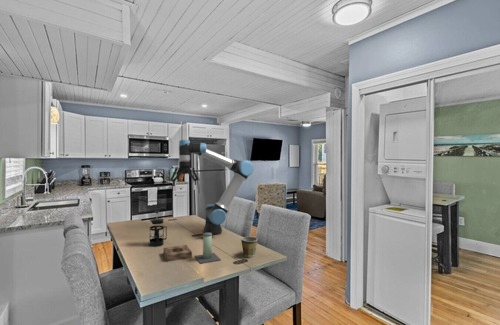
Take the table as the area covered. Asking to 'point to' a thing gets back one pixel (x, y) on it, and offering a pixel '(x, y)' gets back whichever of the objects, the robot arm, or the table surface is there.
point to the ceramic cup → (249, 246)
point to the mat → (202, 260)
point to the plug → (207, 245)
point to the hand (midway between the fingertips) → (184, 190)
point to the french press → (157, 233)
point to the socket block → (177, 253)
